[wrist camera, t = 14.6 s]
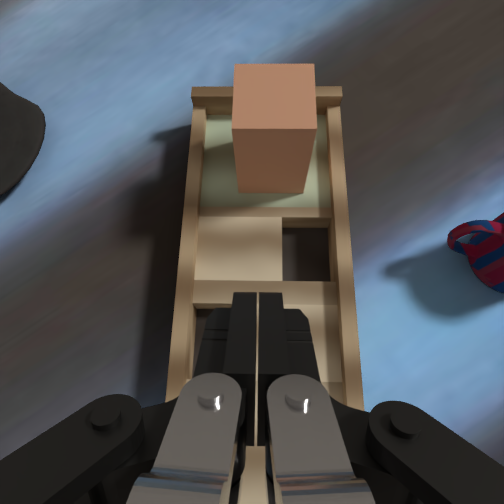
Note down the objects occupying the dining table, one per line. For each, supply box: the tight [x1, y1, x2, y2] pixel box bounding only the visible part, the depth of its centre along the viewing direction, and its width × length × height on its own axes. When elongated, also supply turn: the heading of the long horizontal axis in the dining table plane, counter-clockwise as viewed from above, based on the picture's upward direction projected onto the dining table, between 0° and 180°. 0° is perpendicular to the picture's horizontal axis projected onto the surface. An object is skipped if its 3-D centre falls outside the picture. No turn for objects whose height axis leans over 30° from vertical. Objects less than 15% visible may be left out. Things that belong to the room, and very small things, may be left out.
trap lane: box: [165, 86, 364, 504], centre depth 31 cm, size 38×14×5 cm, turn 179°
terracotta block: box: [231, 64, 317, 193], centre depth 31 cm, size 6×6×9 cm
